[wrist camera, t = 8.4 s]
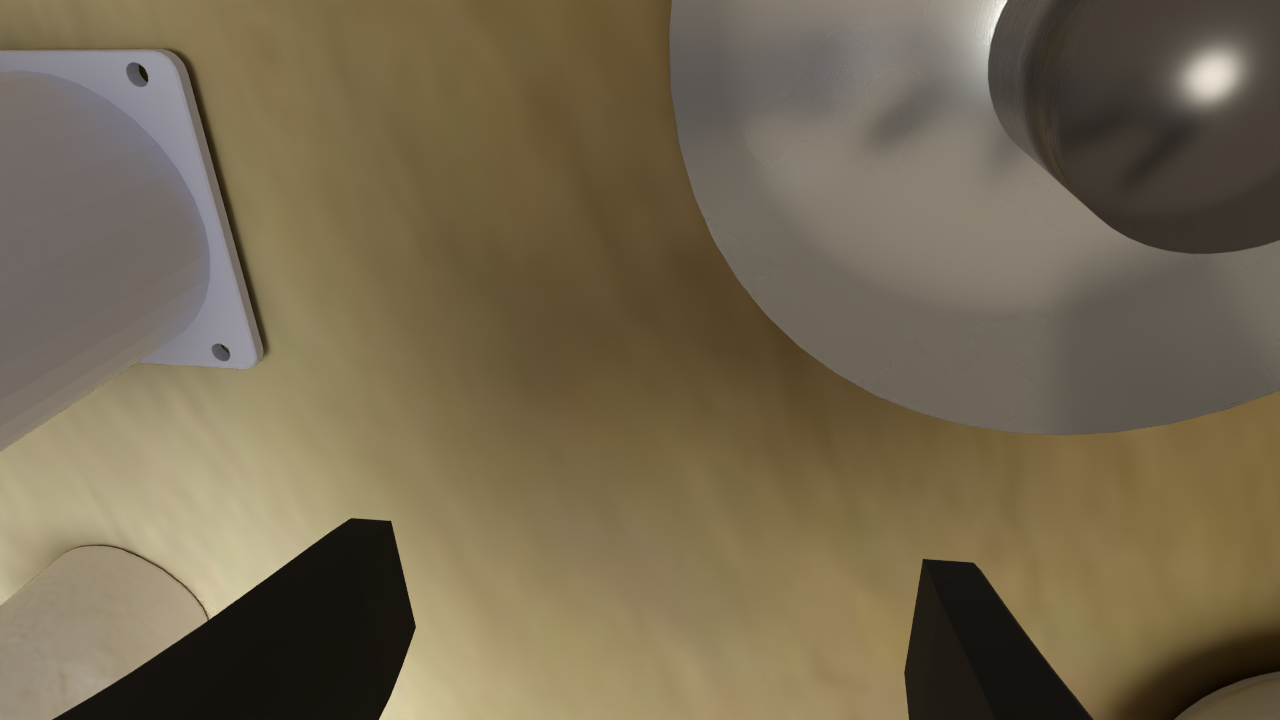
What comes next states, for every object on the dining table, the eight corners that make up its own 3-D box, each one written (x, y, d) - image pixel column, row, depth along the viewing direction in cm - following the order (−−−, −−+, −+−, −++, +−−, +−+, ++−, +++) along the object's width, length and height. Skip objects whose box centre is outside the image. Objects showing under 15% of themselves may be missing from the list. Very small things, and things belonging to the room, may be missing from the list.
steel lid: (705, 416, 16) (681, 560, 12) (630, -440, 10) (544, -658, 7) (1460, 407, 14) (1716, 584, 10) (1927, -733, 8) (2993, -1358, 4)
